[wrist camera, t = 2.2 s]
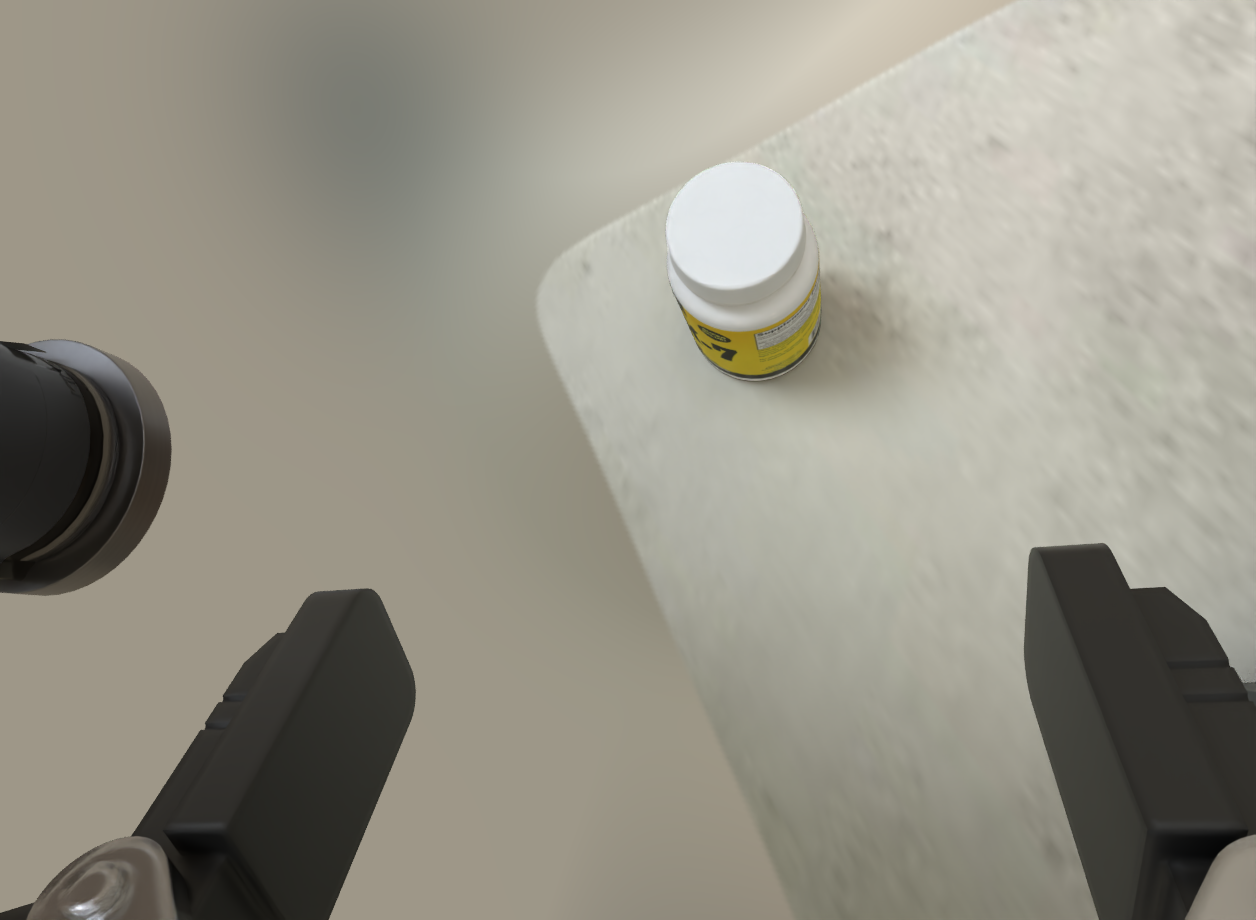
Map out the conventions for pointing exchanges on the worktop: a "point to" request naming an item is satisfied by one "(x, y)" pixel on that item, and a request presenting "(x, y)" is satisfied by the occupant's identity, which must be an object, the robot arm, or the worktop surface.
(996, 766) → the worktop surface
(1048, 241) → the worktop surface
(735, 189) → the supplement bottle
